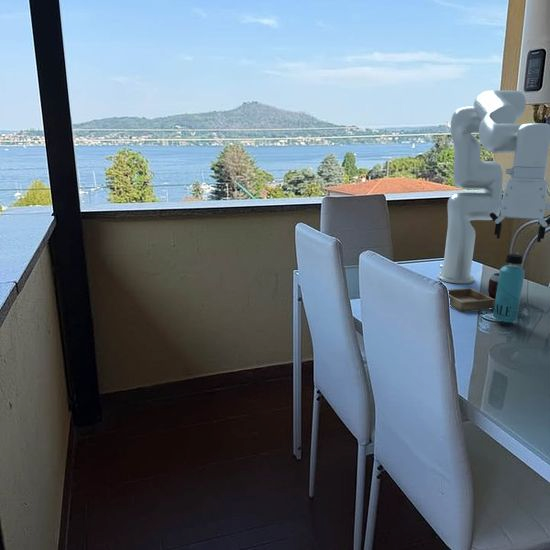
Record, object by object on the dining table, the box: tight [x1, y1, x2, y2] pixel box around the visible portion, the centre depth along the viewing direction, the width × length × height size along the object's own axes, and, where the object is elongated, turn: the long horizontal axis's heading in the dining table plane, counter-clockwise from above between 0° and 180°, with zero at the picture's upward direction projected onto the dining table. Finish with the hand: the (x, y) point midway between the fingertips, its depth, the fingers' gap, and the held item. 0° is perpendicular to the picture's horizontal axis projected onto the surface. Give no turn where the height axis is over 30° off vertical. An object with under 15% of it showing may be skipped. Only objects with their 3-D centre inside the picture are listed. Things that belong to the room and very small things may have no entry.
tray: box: [447, 287, 495, 313], centre depth 145 cm, size 12×12×3 cm
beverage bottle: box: [492, 253, 526, 323], centre depth 128 cm, size 6×7×20 cm
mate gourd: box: [487, 252, 520, 299], centre depth 148 cm, size 8×8×15 cm
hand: (518, 239), depth 123 cm, fingers open, 9 cm apart
